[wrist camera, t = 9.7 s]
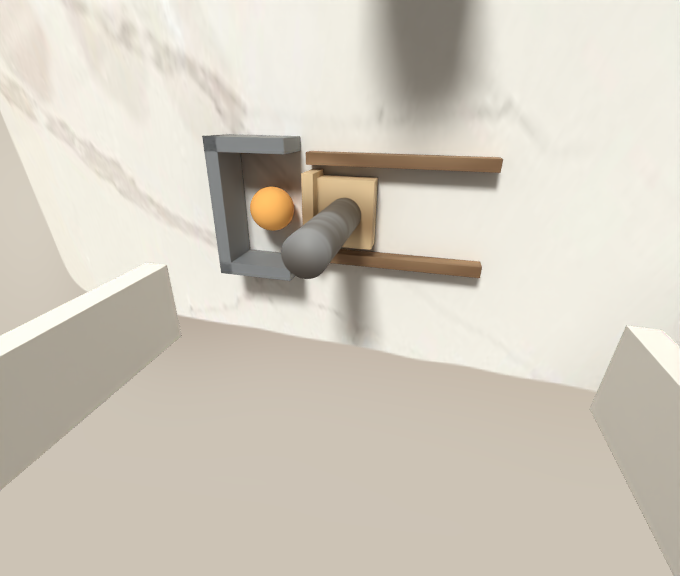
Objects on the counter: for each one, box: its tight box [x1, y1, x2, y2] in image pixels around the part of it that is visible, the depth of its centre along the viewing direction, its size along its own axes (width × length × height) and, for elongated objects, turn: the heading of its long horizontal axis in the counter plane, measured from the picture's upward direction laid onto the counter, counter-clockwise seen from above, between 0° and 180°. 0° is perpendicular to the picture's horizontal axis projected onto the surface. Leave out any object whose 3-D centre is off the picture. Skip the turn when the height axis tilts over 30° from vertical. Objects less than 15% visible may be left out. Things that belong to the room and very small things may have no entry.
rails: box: [306, 151, 503, 278], centre depth 32 cm, size 10×16×2 cm, turn 89°
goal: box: [202, 135, 300, 281], centre depth 34 cm, size 12×7×4 cm, turn 179°
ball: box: [250, 187, 294, 231], centre depth 33 cm, size 4×4×4 cm
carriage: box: [281, 169, 378, 279], centre depth 28 cm, size 7×6×13 cm
